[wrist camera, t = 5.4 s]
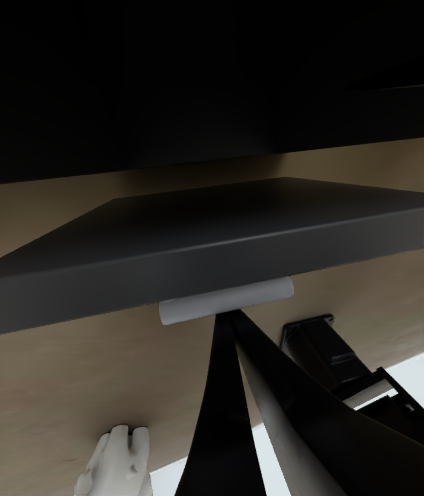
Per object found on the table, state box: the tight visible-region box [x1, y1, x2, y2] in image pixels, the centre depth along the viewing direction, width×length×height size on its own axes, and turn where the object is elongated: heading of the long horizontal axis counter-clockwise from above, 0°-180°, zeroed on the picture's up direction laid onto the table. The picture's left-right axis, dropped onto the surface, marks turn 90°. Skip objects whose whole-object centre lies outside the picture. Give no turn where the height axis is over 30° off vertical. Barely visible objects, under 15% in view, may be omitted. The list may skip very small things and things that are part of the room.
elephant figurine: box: [74, 425, 153, 496], centre depth 21 cm, size 10×12×9 cm
